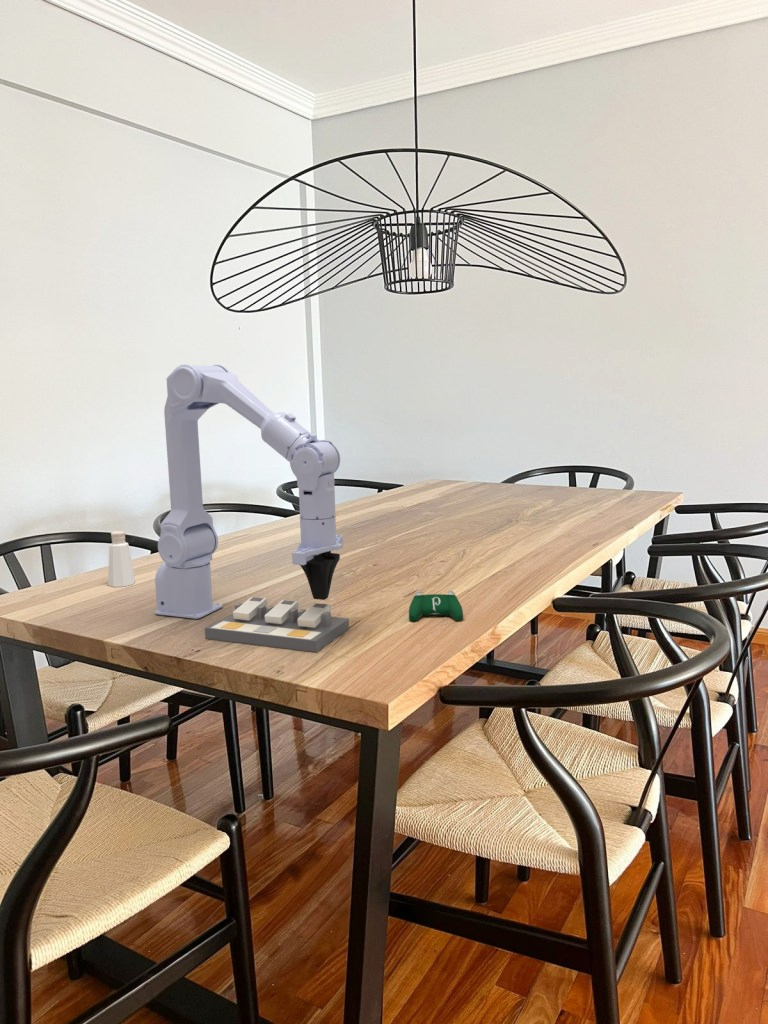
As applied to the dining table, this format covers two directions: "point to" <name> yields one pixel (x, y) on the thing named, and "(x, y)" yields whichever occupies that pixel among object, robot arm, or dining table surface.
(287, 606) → the block
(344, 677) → the dining table surface
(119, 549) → the salt shaker
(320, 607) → the block
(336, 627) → the switch unit
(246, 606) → the rocker
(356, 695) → the dining table surface
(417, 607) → the gaming controller
